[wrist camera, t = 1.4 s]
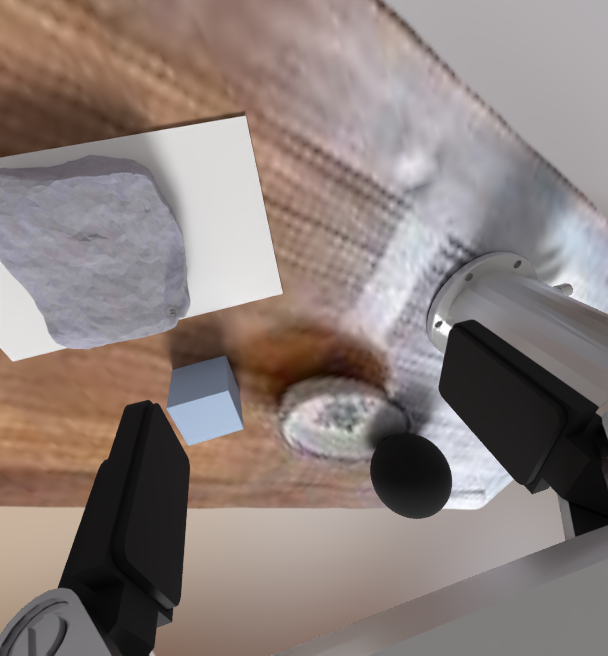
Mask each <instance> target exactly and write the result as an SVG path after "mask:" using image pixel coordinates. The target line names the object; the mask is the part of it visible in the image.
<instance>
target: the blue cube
mask: <svg viewBox="0 0 608 656" xmlns="http://www.w3.org/2000/svg"><path fill="white" fill-rule="evenodd" d="M166 409H167V410H168V412H169V414H170V415H171V417H172V419H173V420H174V422H175V424H176V426H177V427H178V429H179V431H180V432H181V434H182V436H183V437H184V439H185V441H186V442H187V444H188V446H190V445H193V444H196V443H200V442H203V441H206V440H209V439H213V438H216V437H219V436H223V435H226V434H229V433H232V432H236V431H239V430H242V429H244V427H243V418H242V409H241V400H240V392H239V389H238V386H237V384H236V381H235V378H234V376H233V373H232V370H231V368H230V365H229V362H228V360H227V357H226V355H225V356H221V357H217V358H214V359H210V360H206V361H203V362H199V363H195V364H192V365H188V366H184V367H181V368H177V369H173V370H172V376H171V383H170V389H169V395H168V401H167V407H166Z"/></svg>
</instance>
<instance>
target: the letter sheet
mask: <svg viewBox="0 0 608 656" xmlns="http://www.w3.org/2000/svg"><path fill="white" fill-rule="evenodd" d="M88 155H96V156H105V157H110V158H118V159H122V158H125V159H130V160H135V161H136V162H137V163H140V164H141V165H143V166H145V167H146V168H147V169H149V171H150V172H151V173H152V175H153V176H154V179H155V182H156V184H157V186H158V188H159V190H160V192H161V194H162V196H163V197H164V198H165V200H166V201H167V203H168V204H169V205H170V207H171V208H172V210H173V213H174V215H175V217H176V221H177V223H178V224H179V226H180V228H181V230H182V234H183V241H184V248H185V256H186V266H187V283H188V290H189V295H190V307H189V309H188V311H187V314H186V316H185V317H184V318H188V317H192V316H196V315H200V314H204V313H208V312H211V311H215V310H219V309H223V308H227V307H231V306H235V305H239V304H243V303H247V302H251V301H255V300H259V299H263V298H267V297H271V296H275V295H279V294H283V293H282V288H281V283H280V278H279V274H278V269H277V264H276V259H275V254H274V249H273V245H272V240H271V235H270V230H269V225H268V221H267V216H266V211H265V206H264V201H263V197H262V192H261V187H260V182H259V177H258V172H257V168H256V163H255V158H254V153H253V148H252V144H251V139H250V134H249V129H248V124H247V120H246V116H241V117H235V118H230V119H224V120H218V121H212V122H206V123H200V124H194V125H188V126H183V127H177V128H171V129H165V130H159V131H153V132H147V133H141V134H136V135H130V136H124V137H118V138H112V139H106V140H100V141H94V142H89V143H83V144H77V145H71V146H65V147H59V148H53V149H47V150H42V151H36V152H30V153H24V154H18V155H12V156H6V157H0V168H9V169H13V168H33V167H52V166H57V165H61V164H64V163H66V162H68V161H75V160H78V159H80V158H83V157H85V156H88ZM184 318H180V319H184ZM180 319H179V320H180ZM0 348H1V349H2V350H3V351H4V352H5V354H6V355H7V356H8V357H9V358H10V359H11V360H12V361H17V360H21V359H25V358H29V357H33V356H37V355H41V354H45V353H49V352H53V351H56V350H60V349H64V348H67V347H64V346H61V345H59V344H57V343H56V342H55V341H54V340H53V339H52V338H51V336H50V334H49V333H48V329H47V326H46V323H45V320H44V317H43V315H42V314H41V312H40V311H39V310H38V308H37V306H36V304H35V301H34V300H33V298H32V297H31V296H30V294H29V293H28V292H27V290H26V289H25V288H24V287H23V286H22V285H21V283H19V282H18V281H17V280H16V279H15V278H14V277H13V276H12V275H11V274H10V272H9V271H8V270H7V269H6V267H5V266H4V265H3V264H2V263H1V262H0Z"/></svg>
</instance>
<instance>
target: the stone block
mask: <svg viewBox="0 0 608 656" xmlns="http://www.w3.org/2000/svg"><path fill="white" fill-rule="evenodd" d="M0 262H1V263H2V264H3V265H4V266H5V267H6V269H7V270H8V271H9V272H10V274H11V275H12V276H13V277H14V278H15V279H16V280H17V281H18V282H19V283H21V285H22V286H23V287H24V288H25V289H26V290H27V292H28V293H29V294H30V296H31V297H32V298H33V300H34V301H35V304H36V306H37V308H38V310H39V311H40V312H41V314H42V315H43V317H44V320H45V323H46V326H47V329H48V333H49V334H50V336H51V338H52V339H53V340H54V341H55V342H56V343H57V344H59V345H61V346H64V347H67V348H72V349H91V348H93V347H98V346H103V345H105V344H110V343H115V342H120V341H126V340H131V339H137V338H142V337H146V336H150V335H154V334H157V333H161V332H165V331H167V330H170V329H172V328H174V327H176V325H177V322H178V320H179V319H180V318H184V317H185V316H186V314H187V311H188V309H189V307H190V295H189V290H188V283H187V266H186V256H185V248H184V241H183V234H182V230H181V228H180V226H179V224H178V223H177V221H176V217H175V215H174V213H173V210H172V208H171V207H170V205H169V204H168V203H167V201H166V200H165V198H164V197H163V196H162V194H161V192H160V190H159V188H158V186H157V184H156V182H155V179H154V176H153V175H152V173H151V172H150V171H149V169H147V168H146V167H145V166H143V165H141V164H140V163H137V162H136V161H135V160H130V159H125V158H122V159H118V158H110V157H105V156H96V155H88V156H85V157H83V158H80V159H78V160H75V161H68V162H66V163H64V164H61V165H57V166H52V167H33V168H13V169H9V168H0Z"/></svg>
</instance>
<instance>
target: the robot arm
mask: <svg viewBox="0 0 608 656" xmlns="http://www.w3.org/2000/svg"><path fill="white" fill-rule="evenodd" d="M572 293H573V288H572V286H571V285H570V284H567V283H564V284H561V285H557V286H554V287H551V286H549V285H547V284H544V283H542V282H540V281H538V280H536V274H535V271H534V268H533V266H532V265H531V263H530V262H529V261H528V260H526V259H525V258H524V257H521V256H519V255H517V254H514V253H510V252H493V253H489V254H486V255H483V256H481V257H478V258H476V259H474V260H472V261H471V262H469V263H468V264H466V265H464V266H463V267H462V268H461V269H459V270H458V271H457V272H456V273H455V274H453V275H452V276H451V278H450V279H449V280H448V281H447V282H446V283H445V284H444V285H443V287H442V288H441V290H440V291H439V292H438V294H437V296H436V298H435V299H434V301H433V303H432V306H431V309H430V311H429V314H428V321H427V333H428V336H429V339H430V341H431V342H432V344H433V345H434V346H435V347H436V348H437V349H438V350H439V351H440V352H441V353H443V354H445V355H444V361H443V366H442V372H441V377H440V382H439V392H440V394H441V396H442V397H443V399H444V400H445V401H446V402H447V403H448V404H449V405H450V407H451V408H452V409H453V410H454V411H455V412H456V413H457V415H458V416H459V417H460V418H461V419H462V420H463V421H464V423H465V424H466V425H467V426H468V427H469V428H470V429H471V431H472V432H473V433H474V434H475V435H476V436H477V437H478V439H479V440H480V441H481V442H482V443H483V444H484V445H485V447H486V448H487V449H488V450H489V451H490V452H491V453H492V455H493V456H494V457H495V458H496V459H497V460H498V461H499V463H500V464H501V465H502V466H503V467H504V468H505V469H506V471H507V472H508V473H509V474H510V475H511V476H512V477H513V479H514V480H515V481H516V482H518V483H519V484H521V485H524V486H525V487H526V488H527V489H528V490H529V491H530V492H531V493H532V494H534V493H537V492H540V491H543V490H546V489H548V488H549V487H550V486H551V487H552V489H554V491H555V492H556V493H557V495H558V500H559V506H560V512H561V517H562V523H563V529H564V534H565V540H566V541H564V542H562V543H559V544H556V545H554V546H551V547H549V548H546V549H543V550H541V551H538V552H535V553H533V554H530V555H527V556H525V557H522V558H520V559H517V560H515V561H512V562H509V563H507V564H504V565H501V566H499V567H496V568H493V569H491V570H488V571H486V572H483V573H481V574H478V575H475V576H473V577H471V578H468V579H465V580H463V581H460V582H457V583H455V584H452V585H450V586H447V587H444V588H442V589H439V590H437V591H434V592H432V593H429V594H426V595H424V596H421V597H419V598H416V599H413V600H411V601H409V602H406V603H403V604H401V605H398V606H395V607H393V608H390V609H388V610H385V611H383V612H380V613H377V614H375V615H372V616H370V617H367V618H365V619H362V620H360V621H357V622H354V623H352V624H349V625H347V626H345V627H342V628H339V629H337V630H334V631H332V632H329V633H327V634H324V635H322V636H319V637H316V638H314V639H311V640H309V641H306V642H304V643H301V644H299V645H296V646H294V647H291V648H288V649H286V650H283V651H281V652H278V653H276V654H273V655H271V656H608V314H606V313H604V312H602V311H599V310H597V309H595V308H593V307H590V306H588V305H586V304H584V303H582V302H579V301H577V300H575V299H573V298H571V297H568V296H569V295H571V294H572ZM189 475H190V464H189V459H188V457H187V455H186V453H185V451H184V449H183V448H182V446H181V444H180V442H179V440H178V438H177V436H176V435H175V433H174V431H173V429H172V427H171V425H170V424H169V422H168V420H167V418H166V416H165V414H164V413H163V411H162V409H161V407H160V405H159V404H158V403H155V404H152V402H151V401H150V400H146V401H142V402H138V403H134V404H130V405H127V406H126V407H125V409H124V412H123V415H122V418H121V421H120V424H119V427H118V430H117V433H116V436H115V440H114V443H113V446H112V449H111V452H110V455H109V458H108V459H107V460H105V461H104V462H103V463H102V464H101V466H100V468H99V470H98V473H97V476H96V478H95V481H94V484H93V487H92V490H91V493H90V496H89V499H88V502H87V505H86V507H85V511H84V513H83V516H82V519H81V522H80V525H79V528H78V531H77V534H76V536H75V539H74V542H73V545H72V548H71V551H70V554H69V557H68V560H67V563H66V565H65V568H64V571H63V574H62V577H61V580H60V583H59V586H58V588H57V589H53V590H49V591H47V592H45V593H43V594H41V595H40V596H38V597H36V598H35V599H33V600H32V601H31V602H29V603H28V604H27V605H26V606H24V608H22V609H21V610H20V611H19V612H18V613H17V614H16V615H15V616H14V618H13V619H12V620H11V621H10V622H9V623H8V624H7V626H6V627H5V628H4V630H3V632H2V633H1V634H0V656H155V654H154V653H153V651H152V650H153V648H154V645H155V636H156V628H157V627H160V626H162V625H165V624H168V623H171V622H172V615H173V607H176V606H177V605H178V604H179V602H180V598H181V587H182V573H183V558H184V545H185V531H186V517H187V503H188V489H189Z"/></svg>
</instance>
